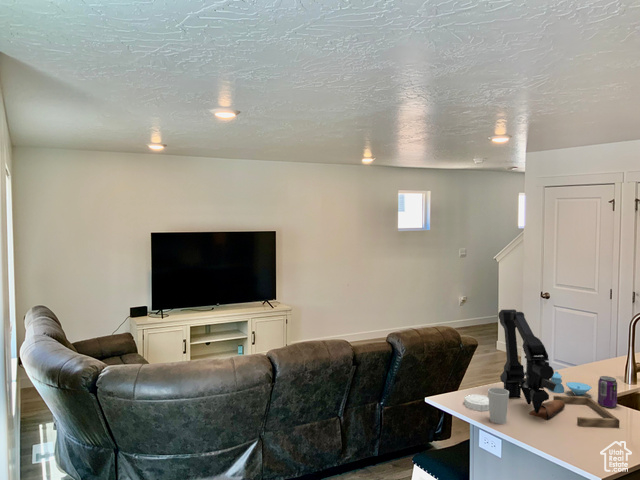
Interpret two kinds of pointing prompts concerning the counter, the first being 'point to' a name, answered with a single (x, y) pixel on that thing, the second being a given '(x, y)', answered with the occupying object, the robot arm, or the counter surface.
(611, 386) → the beverage can
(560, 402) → the sunglasses case
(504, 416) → the cup
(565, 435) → the counter surface
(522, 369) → the robot arm
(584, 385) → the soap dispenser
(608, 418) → the corral
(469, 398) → the mooncake
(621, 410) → the counter surface
